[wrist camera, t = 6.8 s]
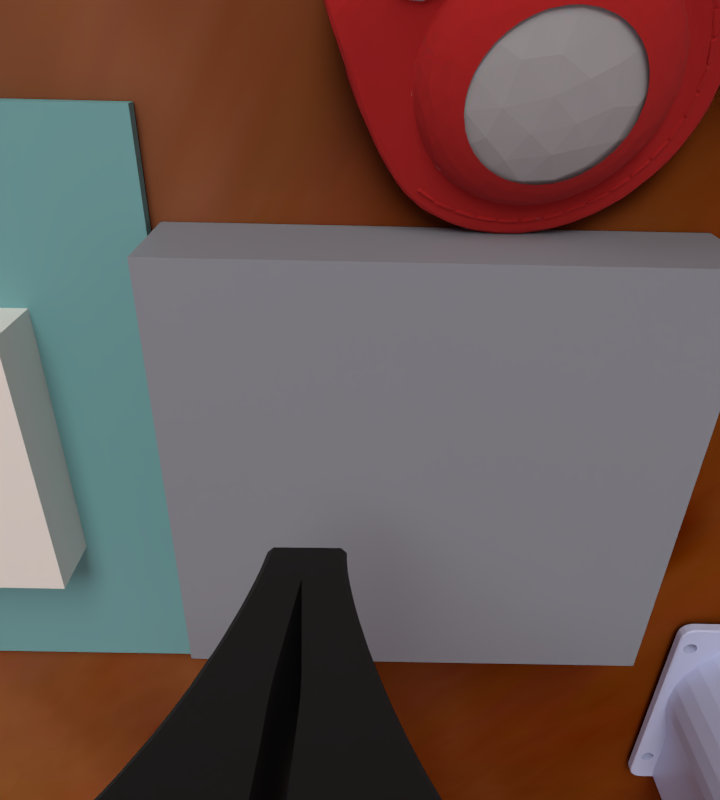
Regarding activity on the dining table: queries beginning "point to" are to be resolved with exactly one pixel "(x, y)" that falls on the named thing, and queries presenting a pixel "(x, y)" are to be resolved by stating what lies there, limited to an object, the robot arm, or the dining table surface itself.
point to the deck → (433, 424)
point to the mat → (89, 373)
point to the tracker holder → (527, 99)
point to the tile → (32, 469)
